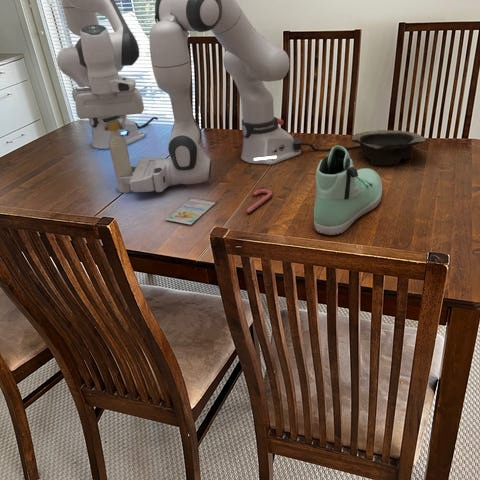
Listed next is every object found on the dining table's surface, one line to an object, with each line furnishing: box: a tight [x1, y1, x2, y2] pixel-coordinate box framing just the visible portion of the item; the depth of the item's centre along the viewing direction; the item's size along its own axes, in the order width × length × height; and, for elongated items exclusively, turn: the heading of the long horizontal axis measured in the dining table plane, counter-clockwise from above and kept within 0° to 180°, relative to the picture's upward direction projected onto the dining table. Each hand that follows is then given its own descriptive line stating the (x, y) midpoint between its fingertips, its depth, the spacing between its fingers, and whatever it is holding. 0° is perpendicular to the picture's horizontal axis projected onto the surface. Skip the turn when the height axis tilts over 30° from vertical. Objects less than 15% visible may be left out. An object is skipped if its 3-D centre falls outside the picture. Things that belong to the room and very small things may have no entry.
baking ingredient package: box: [164, 198, 216, 226], centre depth 144 cm, size 9×1×15 cm
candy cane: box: [245, 188, 273, 215], centre depth 146 cm, size 6×15×2 cm, turn 145°
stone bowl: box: [351, 129, 427, 166], centre depth 167 cm, size 25×25×9 cm
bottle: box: [109, 130, 134, 194], centre depth 156 cm, size 6×6×22 cm
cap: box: [107, 120, 120, 131], centre depth 150 cm, size 4×4×2 cm
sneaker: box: [313, 145, 383, 236], centre depth 133 cm, size 14×35×20 cm, turn 152°
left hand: (114, 129), depth 151 cm, fingers closed on cap, 4 cm apart
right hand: (121, 175), depth 159 cm, fingers closed on bottle, 5 cm apart
